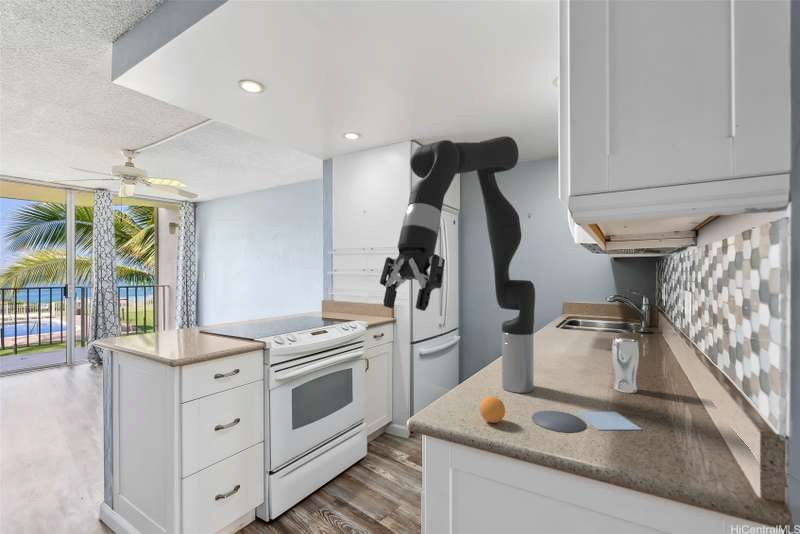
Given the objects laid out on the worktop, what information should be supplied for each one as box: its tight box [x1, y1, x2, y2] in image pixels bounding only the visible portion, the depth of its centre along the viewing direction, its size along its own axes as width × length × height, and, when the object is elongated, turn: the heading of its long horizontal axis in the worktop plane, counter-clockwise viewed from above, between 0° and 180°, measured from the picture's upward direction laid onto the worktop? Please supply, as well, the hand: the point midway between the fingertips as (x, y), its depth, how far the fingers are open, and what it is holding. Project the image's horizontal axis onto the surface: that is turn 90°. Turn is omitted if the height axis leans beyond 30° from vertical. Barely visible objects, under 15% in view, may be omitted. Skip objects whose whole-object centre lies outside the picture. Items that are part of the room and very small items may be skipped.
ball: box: [479, 395, 506, 424], centre depth 89 cm, size 6×6×6 cm
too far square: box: [576, 411, 642, 431], centre depth 89 cm, size 10×10×1 cm
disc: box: [531, 410, 587, 433], centre depth 89 cm, size 12×12×1 cm
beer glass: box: [611, 337, 640, 394], centre depth 111 cm, size 7×7×15 cm
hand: (403, 308), depth 71 cm, fingers open, 8 cm apart
